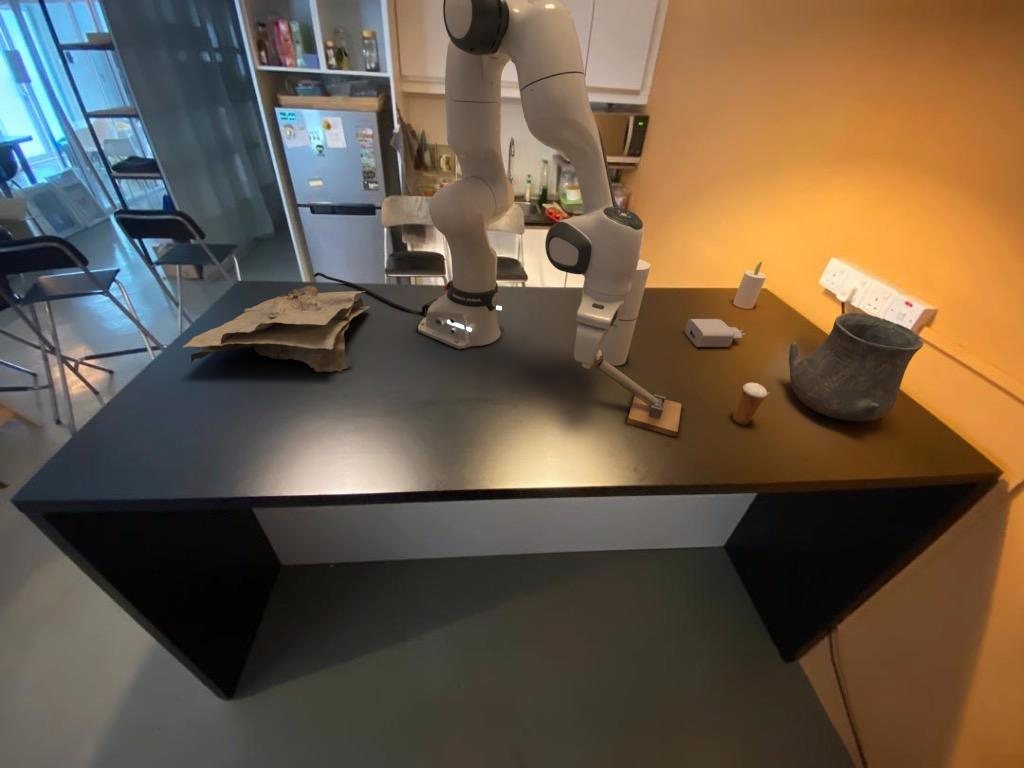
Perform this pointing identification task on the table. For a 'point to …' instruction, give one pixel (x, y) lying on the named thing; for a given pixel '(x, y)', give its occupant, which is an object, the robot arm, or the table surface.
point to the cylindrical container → (626, 320)
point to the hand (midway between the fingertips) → (590, 358)
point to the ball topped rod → (625, 381)
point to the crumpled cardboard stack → (290, 329)
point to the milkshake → (749, 402)
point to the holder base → (656, 416)
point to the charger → (711, 333)
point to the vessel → (854, 368)
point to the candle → (749, 288)
